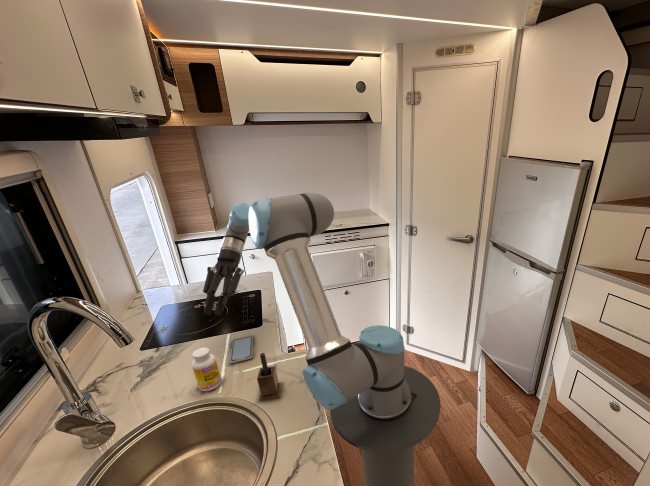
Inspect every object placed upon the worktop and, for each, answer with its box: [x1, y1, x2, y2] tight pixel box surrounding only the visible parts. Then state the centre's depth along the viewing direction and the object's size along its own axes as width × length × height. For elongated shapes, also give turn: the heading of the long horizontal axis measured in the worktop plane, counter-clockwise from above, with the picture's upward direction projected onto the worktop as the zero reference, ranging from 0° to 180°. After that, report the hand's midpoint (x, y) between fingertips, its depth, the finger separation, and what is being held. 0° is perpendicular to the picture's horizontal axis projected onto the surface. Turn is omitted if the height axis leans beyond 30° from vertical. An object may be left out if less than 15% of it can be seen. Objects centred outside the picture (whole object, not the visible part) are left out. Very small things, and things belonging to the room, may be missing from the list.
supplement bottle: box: [191, 347, 222, 392], centre depth 100 cm, size 7×7×13 cm
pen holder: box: [256, 365, 282, 402], centre depth 96 cm, size 6×6×8 cm
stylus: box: [259, 352, 269, 376], centre depth 95 cm, size 1×1×14 cm
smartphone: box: [229, 335, 254, 364], centre depth 119 cm, size 7×1×15 cm
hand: (212, 314), depth 107 cm, fingers open, 3 cm apart
